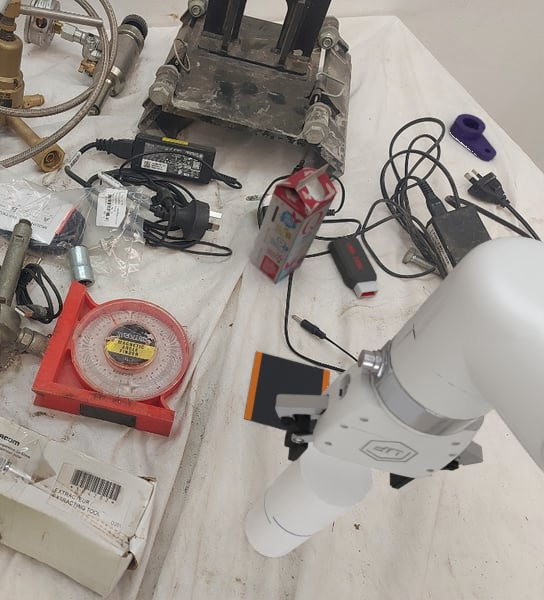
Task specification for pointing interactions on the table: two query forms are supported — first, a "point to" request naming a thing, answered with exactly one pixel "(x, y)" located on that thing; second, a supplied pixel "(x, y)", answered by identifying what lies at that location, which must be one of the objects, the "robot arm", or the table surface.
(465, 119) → the lever
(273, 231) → the juice carton
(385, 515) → the table surface
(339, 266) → the usb drive
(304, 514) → the cylindrical container
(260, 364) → the mat
